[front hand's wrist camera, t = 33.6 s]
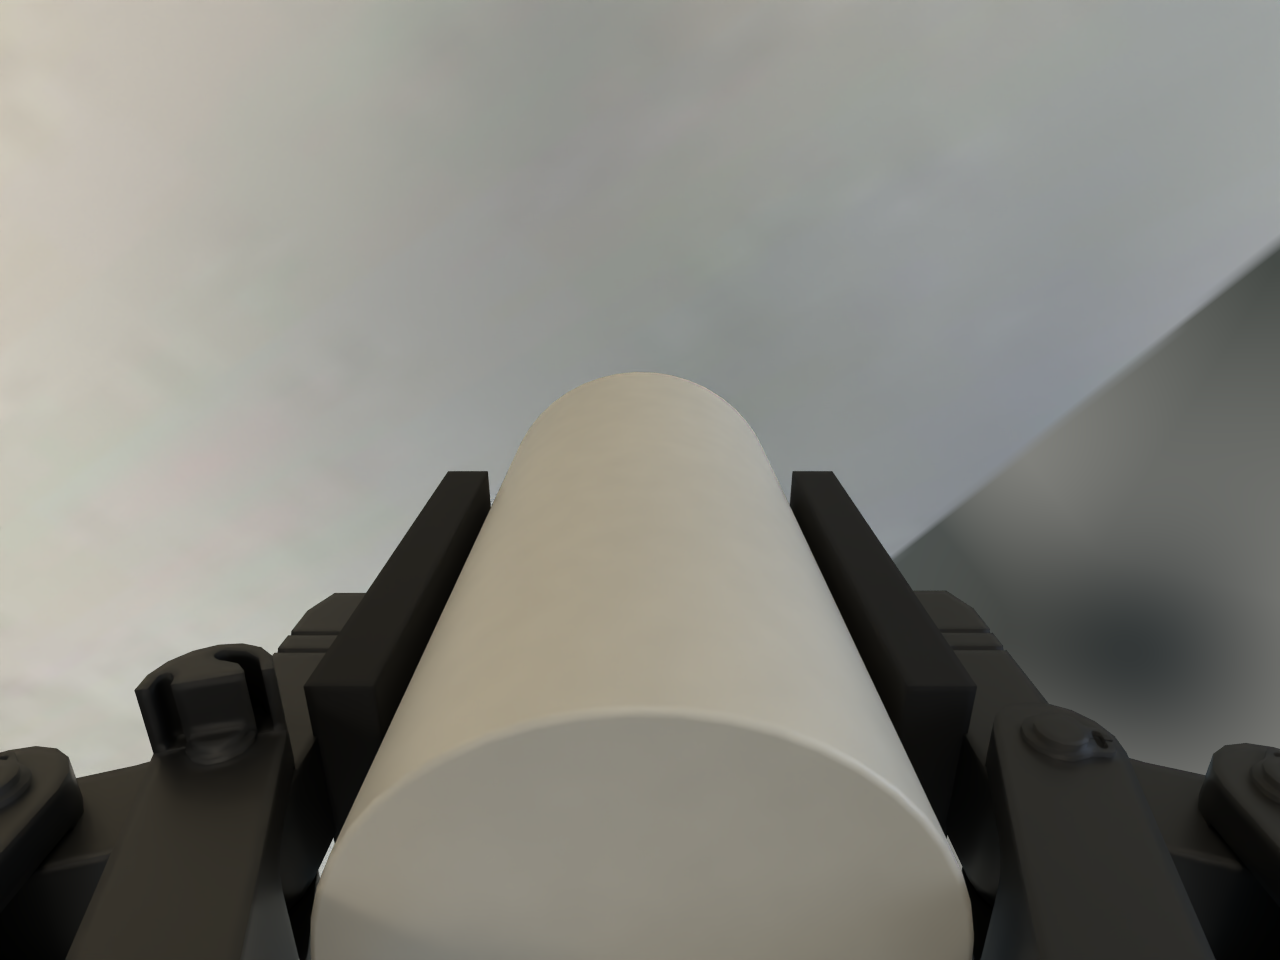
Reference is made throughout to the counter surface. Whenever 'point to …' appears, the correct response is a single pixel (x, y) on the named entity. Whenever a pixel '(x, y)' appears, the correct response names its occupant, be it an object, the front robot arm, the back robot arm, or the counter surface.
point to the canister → (641, 727)
